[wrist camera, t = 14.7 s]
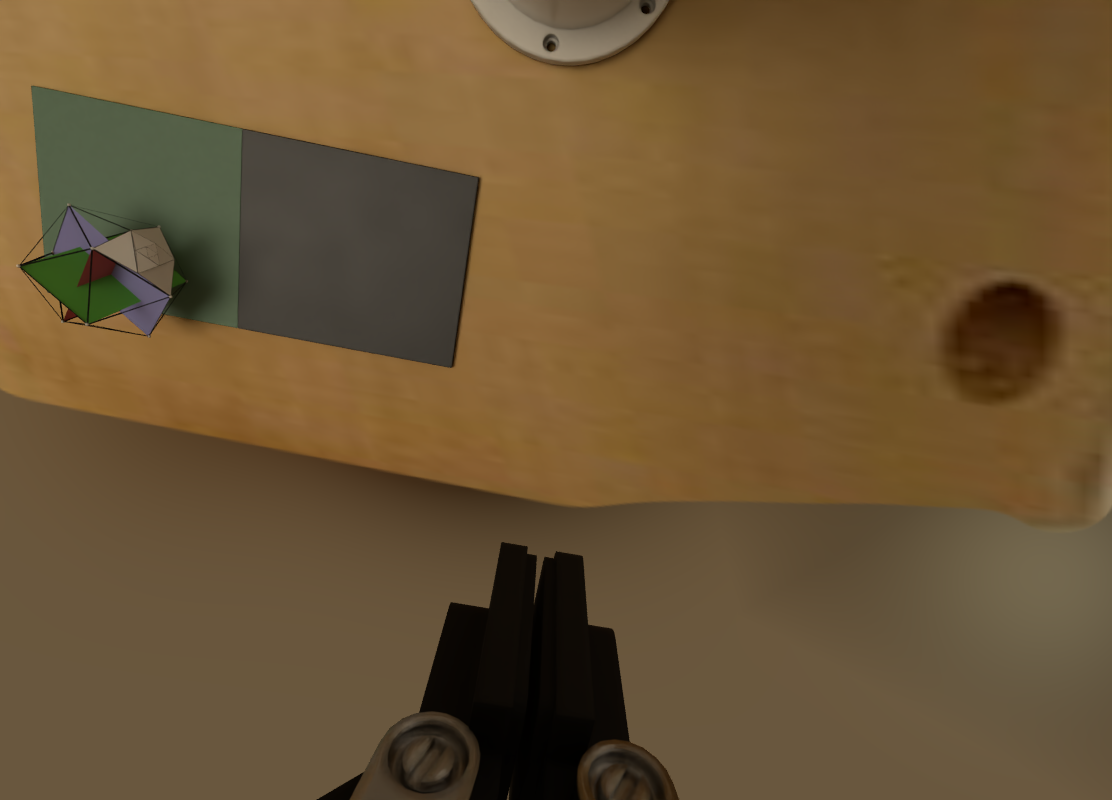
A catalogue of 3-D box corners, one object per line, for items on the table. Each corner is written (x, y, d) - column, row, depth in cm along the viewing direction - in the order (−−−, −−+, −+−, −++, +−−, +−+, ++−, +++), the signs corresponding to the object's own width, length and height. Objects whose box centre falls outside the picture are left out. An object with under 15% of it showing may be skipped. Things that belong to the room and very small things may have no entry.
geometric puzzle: (121, 372, 35) (83, 342, 28) (24, 290, 34) (-41, 237, 27) (217, 300, 38) (205, 257, 31) (131, 222, 37) (98, 158, 30)
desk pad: (35, 86, 33) (30, 85, 33) (479, 177, 34) (478, 177, 34) (50, 291, 36) (46, 292, 36) (452, 366, 38) (451, 367, 38)
